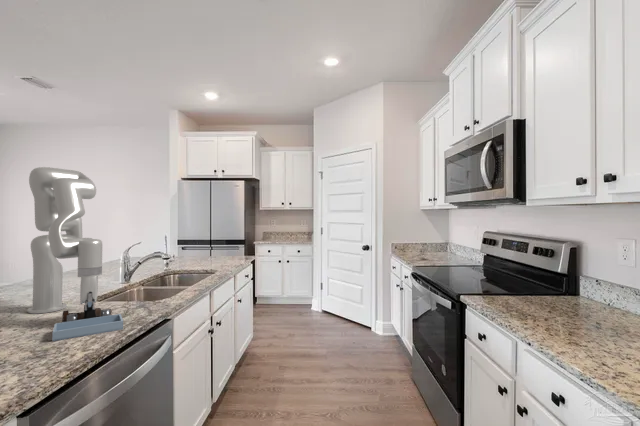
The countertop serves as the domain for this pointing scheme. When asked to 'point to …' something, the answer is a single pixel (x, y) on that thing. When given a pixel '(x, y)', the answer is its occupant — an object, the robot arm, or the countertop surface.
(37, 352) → the countertop surface
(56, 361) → the countertop surface
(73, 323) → the tray
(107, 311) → the peg
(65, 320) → the bolt
